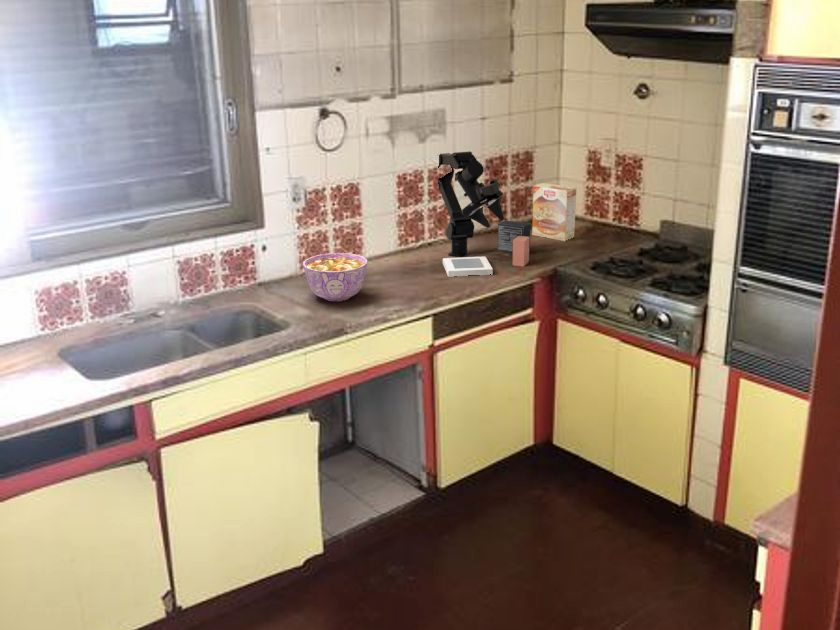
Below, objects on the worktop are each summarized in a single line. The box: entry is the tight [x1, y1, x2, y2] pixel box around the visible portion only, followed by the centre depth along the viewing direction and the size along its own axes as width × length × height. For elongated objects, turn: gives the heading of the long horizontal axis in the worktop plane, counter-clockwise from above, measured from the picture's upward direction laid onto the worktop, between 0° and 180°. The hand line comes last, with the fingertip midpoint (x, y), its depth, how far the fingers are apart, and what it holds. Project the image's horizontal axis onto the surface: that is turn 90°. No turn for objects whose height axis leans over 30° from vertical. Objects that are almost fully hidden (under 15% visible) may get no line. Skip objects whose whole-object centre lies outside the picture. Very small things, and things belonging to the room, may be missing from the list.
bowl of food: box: [302, 252, 368, 302], centre depth 288 cm, size 20×20×12 cm
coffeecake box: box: [531, 182, 577, 242], centre depth 350 cm, size 15×7×20 cm, turn 50°
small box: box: [496, 219, 532, 254], centre depth 334 cm, size 11×6×10 cm, turn 58°
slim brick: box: [512, 236, 530, 267], centre depth 320 cm, size 6×4×9 cm, turn 157°
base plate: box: [442, 256, 494, 278], centre depth 315 cm, size 15×15×2 cm
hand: (496, 223), depth 316 cm, fingers open, 9 cm apart
